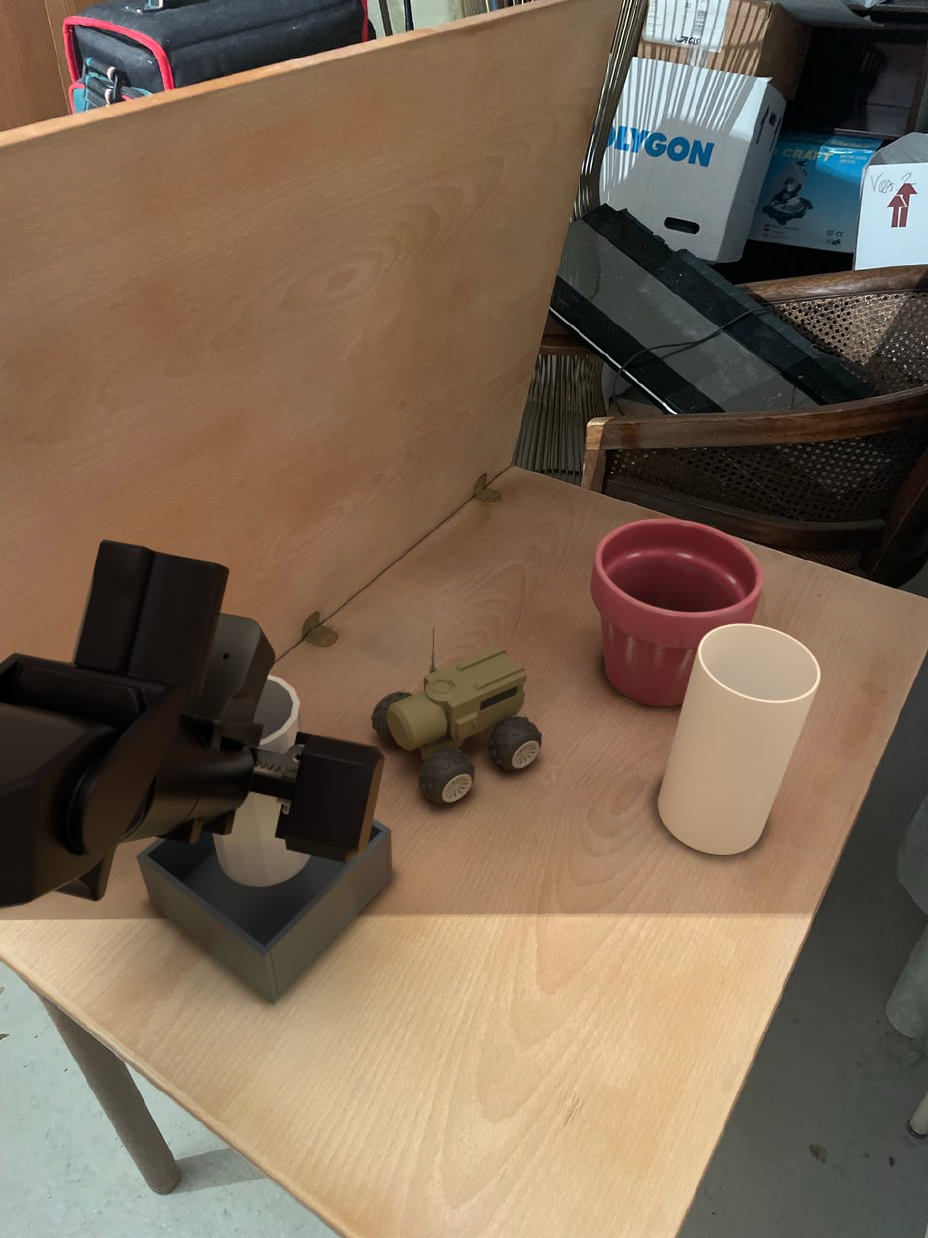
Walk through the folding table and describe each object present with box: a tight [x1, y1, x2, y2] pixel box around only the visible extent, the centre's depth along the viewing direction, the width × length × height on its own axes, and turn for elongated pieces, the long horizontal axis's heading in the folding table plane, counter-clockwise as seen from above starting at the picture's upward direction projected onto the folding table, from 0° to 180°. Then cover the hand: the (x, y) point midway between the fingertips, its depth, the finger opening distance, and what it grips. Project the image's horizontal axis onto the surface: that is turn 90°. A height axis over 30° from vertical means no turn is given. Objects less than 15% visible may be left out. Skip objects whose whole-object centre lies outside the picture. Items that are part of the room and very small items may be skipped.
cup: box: [657, 623, 821, 856], centre depth 66 cm, size 8×8×16 cm
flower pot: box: [590, 518, 764, 707], centre depth 80 cm, size 14×14×13 cm
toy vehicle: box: [370, 626, 543, 805], centre depth 72 cm, size 10×11×12 cm
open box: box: [136, 817, 393, 1004], centre depth 63 cm, size 12×12×6 cm
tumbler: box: [212, 674, 311, 887], centre depth 57 cm, size 6×6×13 cm
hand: (264, 766), depth 58 cm, fingers closed on tumbler, 6 cm apart
